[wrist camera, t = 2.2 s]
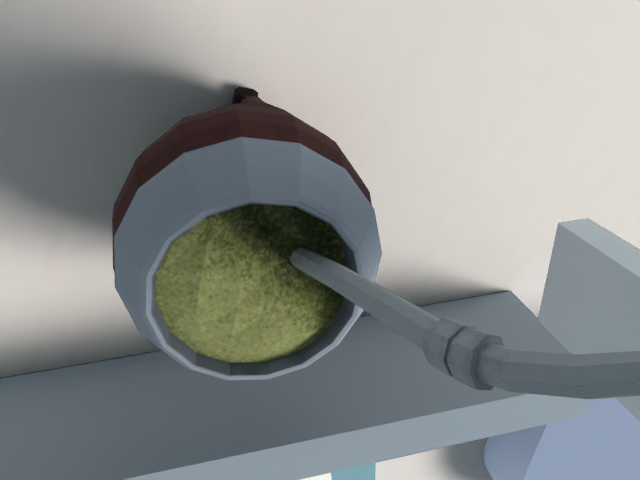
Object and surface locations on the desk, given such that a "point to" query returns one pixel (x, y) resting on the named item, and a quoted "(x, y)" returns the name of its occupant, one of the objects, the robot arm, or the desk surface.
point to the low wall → (269, 409)
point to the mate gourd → (290, 262)
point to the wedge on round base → (570, 448)
